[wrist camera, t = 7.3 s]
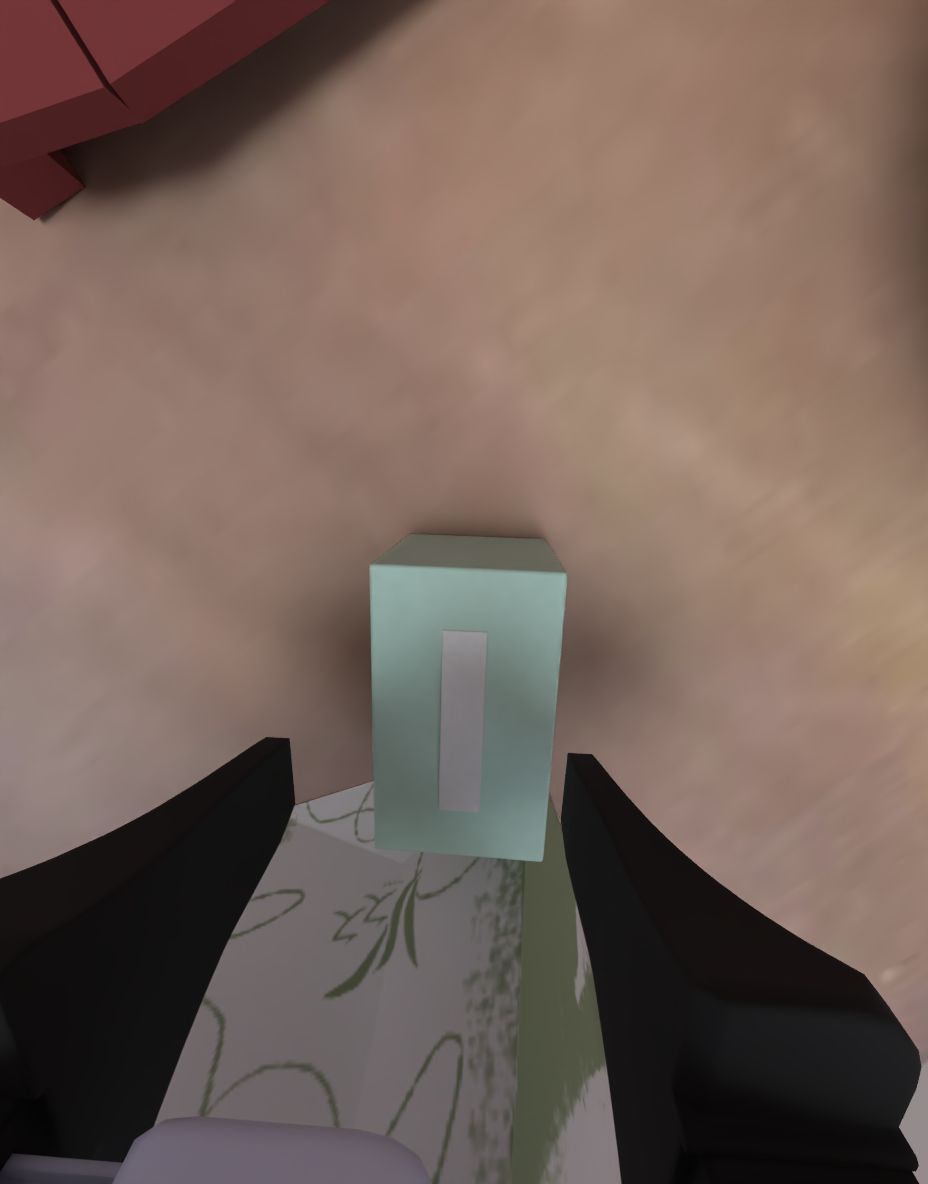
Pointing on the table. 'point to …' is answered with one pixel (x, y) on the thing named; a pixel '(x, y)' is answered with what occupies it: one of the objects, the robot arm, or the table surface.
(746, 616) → the table surface
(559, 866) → the grocery bag
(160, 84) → the carton
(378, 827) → the mint tissue box
